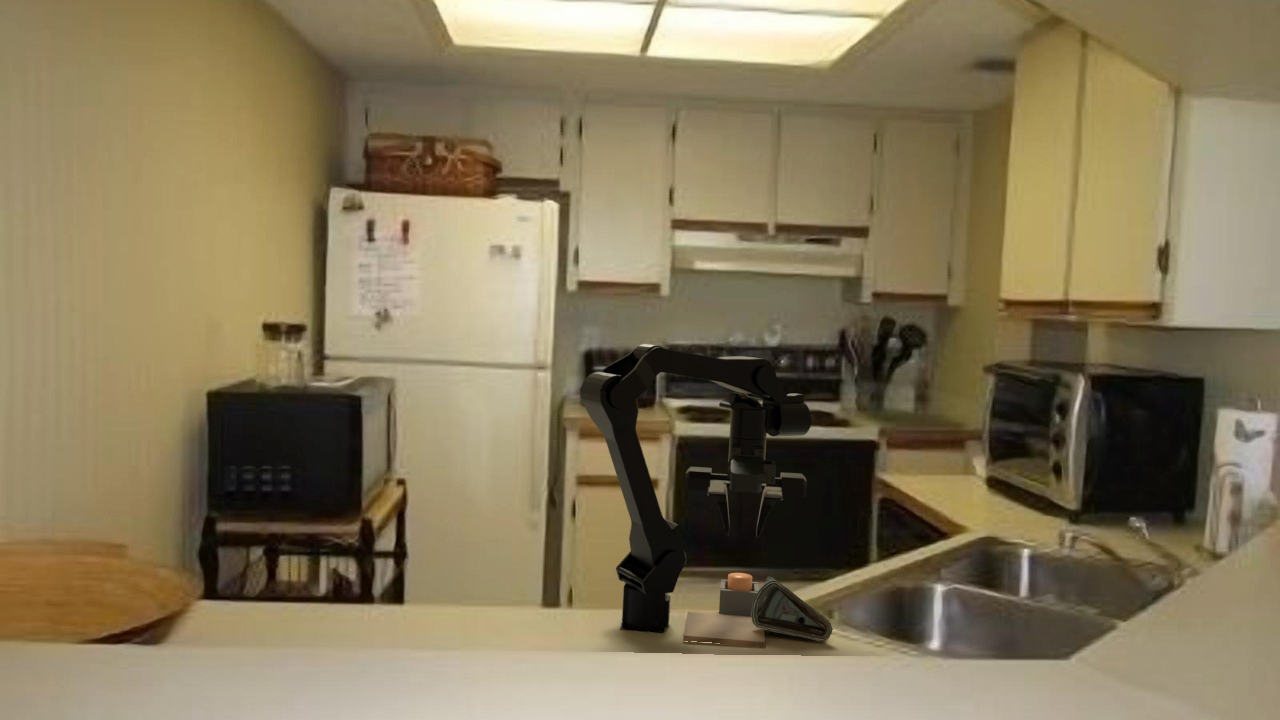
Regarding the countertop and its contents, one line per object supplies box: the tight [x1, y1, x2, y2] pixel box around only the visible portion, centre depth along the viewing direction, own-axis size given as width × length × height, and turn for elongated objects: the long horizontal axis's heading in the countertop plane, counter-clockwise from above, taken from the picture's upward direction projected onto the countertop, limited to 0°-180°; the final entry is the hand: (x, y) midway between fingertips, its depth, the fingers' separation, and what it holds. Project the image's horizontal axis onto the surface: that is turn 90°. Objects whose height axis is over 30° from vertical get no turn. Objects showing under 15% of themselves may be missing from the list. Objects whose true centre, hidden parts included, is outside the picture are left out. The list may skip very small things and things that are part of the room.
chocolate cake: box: [751, 575, 834, 642], centre depth 145 cm, size 10×7×12 cm
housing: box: [718, 579, 760, 617], centre depth 154 cm, size 6×6×4 cm
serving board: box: [682, 611, 766, 648], centre depth 143 cm, size 12×11×1 cm
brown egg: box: [727, 572, 753, 591], centre depth 153 cm, size 4×4×4 cm
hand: (742, 536), depth 153 cm, fingers open, 4 cm apart
